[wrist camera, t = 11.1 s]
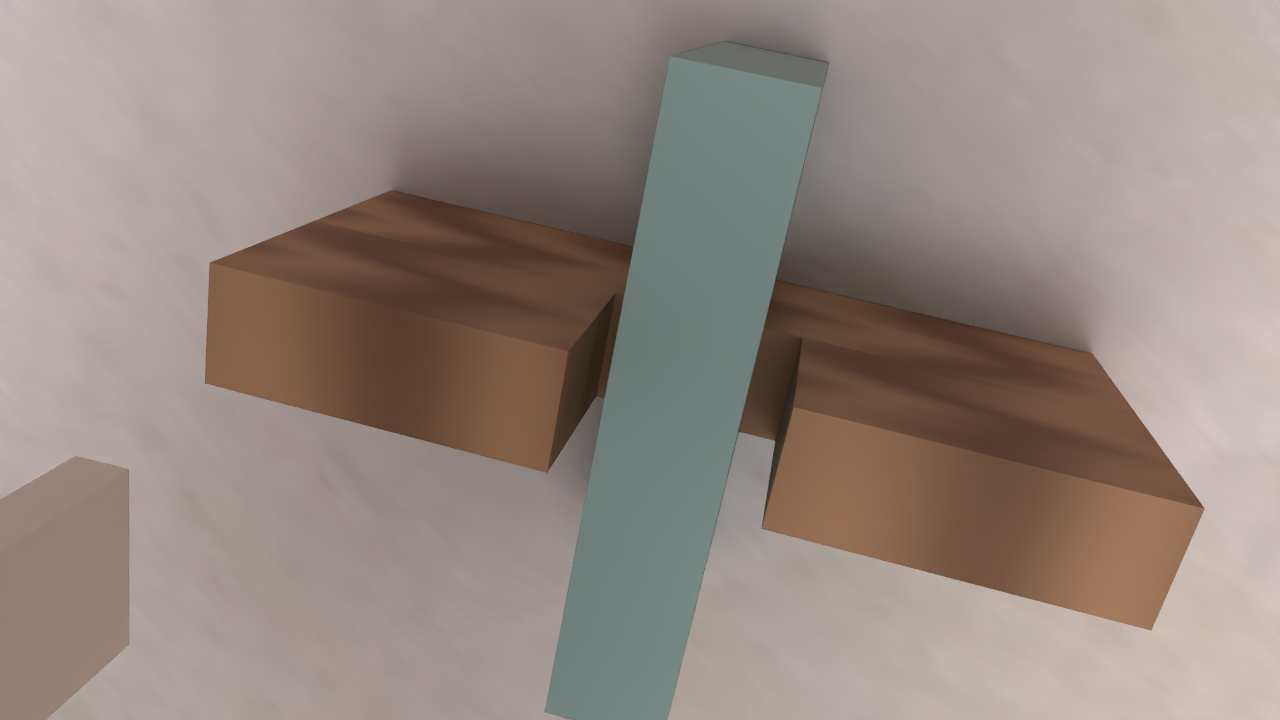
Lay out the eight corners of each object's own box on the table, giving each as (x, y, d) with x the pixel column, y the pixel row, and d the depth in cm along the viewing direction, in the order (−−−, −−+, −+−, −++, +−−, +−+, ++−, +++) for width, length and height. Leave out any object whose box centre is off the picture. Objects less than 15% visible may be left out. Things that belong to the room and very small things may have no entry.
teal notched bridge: (710, 547, 34) (661, 745, 25) (624, 524, 35) (544, 712, 26) (828, 62, 29) (822, 87, 20) (725, 41, 29) (669, 55, 20)
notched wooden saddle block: (381, 279, 34) (205, 383, 24) (391, 190, 33) (209, 262, 23) (1059, 445, 31) (1151, 630, 22) (1092, 354, 30) (1204, 508, 21)
